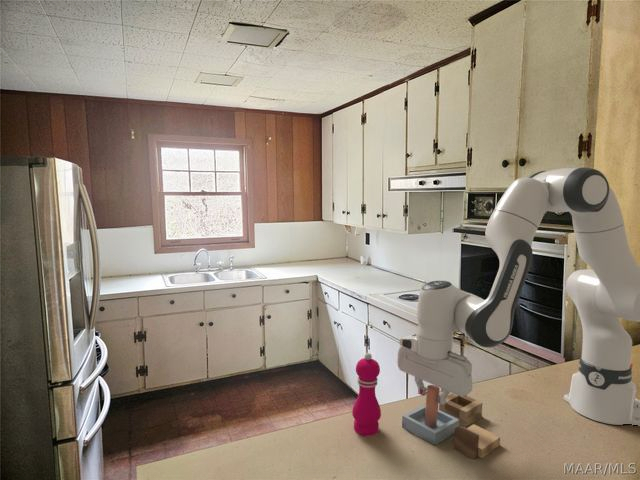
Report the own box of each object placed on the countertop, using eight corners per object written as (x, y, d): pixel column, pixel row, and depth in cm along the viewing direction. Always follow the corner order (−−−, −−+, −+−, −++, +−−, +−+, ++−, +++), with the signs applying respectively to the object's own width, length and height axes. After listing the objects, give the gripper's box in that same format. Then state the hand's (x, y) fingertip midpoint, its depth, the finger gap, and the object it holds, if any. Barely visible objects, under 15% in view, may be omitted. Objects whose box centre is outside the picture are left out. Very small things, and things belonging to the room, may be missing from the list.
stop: (458, 445, 100) (459, 425, 99) (477, 455, 96) (479, 435, 95) (453, 448, 98) (454, 428, 98) (473, 459, 94) (474, 438, 94)
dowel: (429, 420, 108) (432, 383, 107) (438, 425, 106) (441, 388, 105) (421, 424, 106) (424, 386, 105) (431, 429, 104) (434, 391, 103)
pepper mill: (379, 438, 102) (382, 360, 99) (350, 435, 103) (351, 357, 101) (381, 423, 109) (383, 349, 106) (353, 419, 110) (355, 346, 108)
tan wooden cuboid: (473, 433, 105) (473, 424, 105) (499, 446, 100) (500, 436, 100) (454, 445, 100) (455, 435, 100) (481, 459, 95) (482, 449, 95)
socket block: (455, 404, 119) (456, 391, 118) (481, 416, 113) (482, 402, 112) (438, 413, 114) (439, 399, 113) (465, 426, 108) (466, 412, 107)
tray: (426, 414, 113) (426, 403, 113) (458, 430, 106) (459, 419, 105) (402, 426, 107) (402, 415, 107) (434, 445, 99) (435, 433, 99)
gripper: (479, 355, 98) (476, 411, 99) (409, 332, 114) (408, 381, 115) (464, 362, 94) (461, 420, 95) (394, 337, 110) (392, 387, 111)
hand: (431, 398), depth 105 cm, fingers open, 4 cm apart
